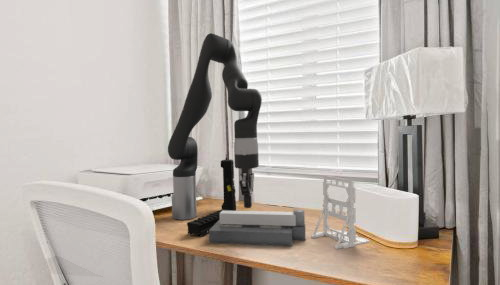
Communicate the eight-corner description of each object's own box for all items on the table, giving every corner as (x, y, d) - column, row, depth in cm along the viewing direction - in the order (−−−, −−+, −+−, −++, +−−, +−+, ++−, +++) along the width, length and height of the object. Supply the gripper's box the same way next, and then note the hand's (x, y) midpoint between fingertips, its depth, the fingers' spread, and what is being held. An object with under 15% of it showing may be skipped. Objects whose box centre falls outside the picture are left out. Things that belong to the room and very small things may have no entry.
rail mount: (219, 221, 131) (219, 208, 131) (233, 223, 128) (233, 210, 128) (184, 236, 113) (183, 222, 113) (199, 239, 110) (198, 224, 109)
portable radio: (235, 213, 142) (234, 155, 141) (221, 213, 142) (220, 155, 141) (236, 209, 150) (235, 154, 149) (223, 209, 150) (221, 154, 149)
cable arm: (304, 222, 110) (304, 209, 109) (304, 226, 106) (304, 212, 105) (222, 220, 114) (222, 207, 114) (219, 223, 110) (219, 210, 110)
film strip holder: (373, 242, 102) (373, 178, 102) (339, 250, 96) (338, 181, 96) (341, 230, 115) (340, 173, 115) (309, 236, 109) (308, 176, 109)
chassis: (209, 243, 105) (208, 229, 105) (221, 228, 120) (221, 216, 120) (305, 246, 100) (305, 232, 100) (305, 230, 116) (305, 218, 115)
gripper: (238, 151, 111) (240, 203, 112) (230, 154, 98) (231, 212, 98) (260, 151, 110) (262, 203, 110) (255, 153, 97) (256, 212, 97)
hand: (247, 207), depth 104 cm, fingers closed
